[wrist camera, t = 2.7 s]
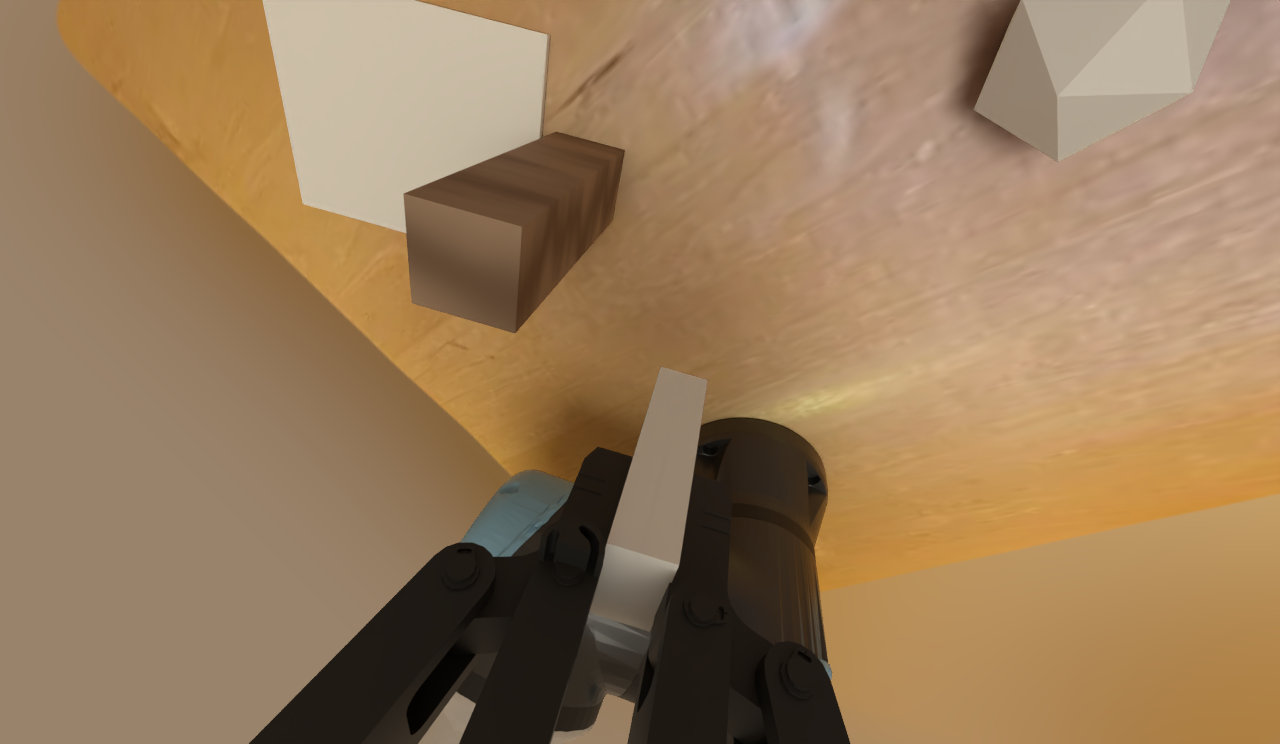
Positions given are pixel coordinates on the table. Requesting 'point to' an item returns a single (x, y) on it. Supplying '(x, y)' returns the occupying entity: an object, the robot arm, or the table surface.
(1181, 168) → the table surface
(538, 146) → the walnut block
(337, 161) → the mat
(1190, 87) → the die
